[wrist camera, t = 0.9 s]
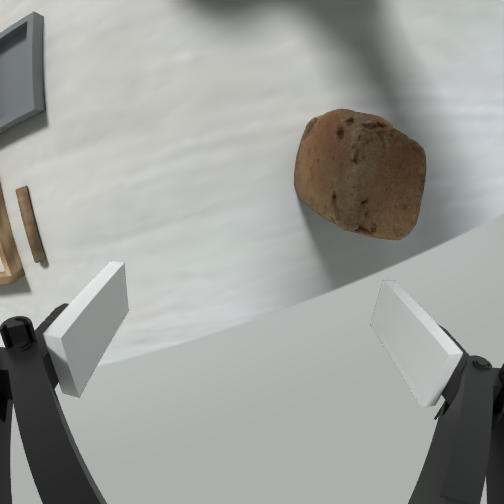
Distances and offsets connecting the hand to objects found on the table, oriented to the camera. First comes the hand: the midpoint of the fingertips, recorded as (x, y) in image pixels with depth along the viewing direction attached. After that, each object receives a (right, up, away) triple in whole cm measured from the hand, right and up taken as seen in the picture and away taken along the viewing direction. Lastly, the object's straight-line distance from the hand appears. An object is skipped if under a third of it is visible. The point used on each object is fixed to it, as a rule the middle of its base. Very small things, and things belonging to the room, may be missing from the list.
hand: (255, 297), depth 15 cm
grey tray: (-37, +30, +16) cm, 50 cm away
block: (+9, +14, +24) cm, 29 cm away
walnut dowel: (-34, +7, +25) cm, 43 cm away
